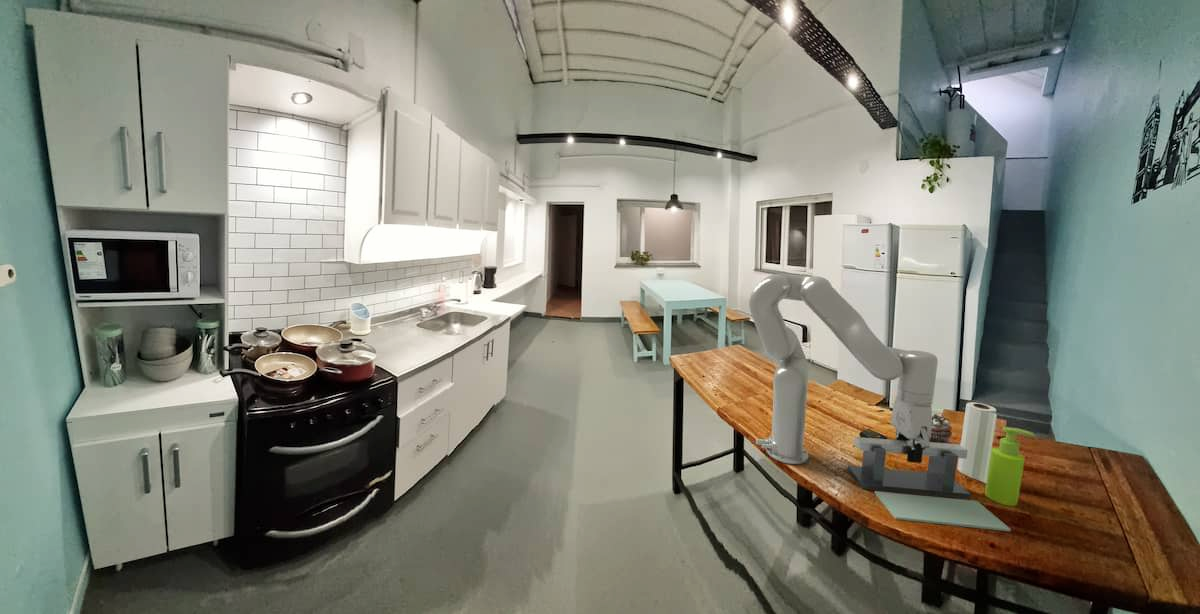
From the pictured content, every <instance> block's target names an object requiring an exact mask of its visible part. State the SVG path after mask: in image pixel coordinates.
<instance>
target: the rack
mask: <svg viewBox="0 0 1200 614" xmlns="http://www.w3.org/2000/svg"><path fill="white" fill-rule="evenodd" d="M862 452H863V453H862V459H861V460H862V461H861V466H859V465H858V466H857V465H847V469H846V470H847V471H848V473H849V474H850V476H851V477H852V478H853V480H854V481H855V483H857V485H858V486H859V487H860V488H861V490H862V489H863V490H871V491H872V490H873V491H880V492H890V493H900V494H911V495H921V496H932V497H942V498H953V499H963V500H971V496H972V493H970V492H969V491H968V490H967V489H965V488H964V487H963V486H962V485H961V484H960V483H959V482H957V481H956V479H955V478H956V473H957V472H956V471H957V467H958V460H959V458H958V456H957V455H956V454H955V453H944V456H943V457H939V456H928V457H929V458H928V464H927V471H920V470H919V471H916V470H906V469H905V470H904V469H892V468H891V469H890V468H885V466H886V465H885V464H886V456H887V455H886V454H887V452H886V450H885V449H884V448H875V447H874V450H873V451H862ZM913 493H914V494H913Z"/></svg>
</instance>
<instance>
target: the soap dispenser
mask: <svg viewBox="0 0 1200 614" xmlns="http://www.w3.org/2000/svg"><path fill="white" fill-rule="evenodd" d="M1002 430H1003V431H1004V432H1005V437H1001V438H1000V440H999V446H998V447H992V450H991V457H990V463H989V470H988V476H987V483H985V489H984V490H985V491H984V495H985V496H986V497H987V498H988V499H990V500H991V501H993V502H995V503H998V504H1000V505H1004V506H1008V507H1009V506H1011V507H1014V506H1017V505H1018V502H1019V496H1020V490H1021V483H1022V477H1023V471H1024V465H1025V460H1026V458H1025V456H1024V455H1023V454H1021V453H1019V449H1020V442H1019V441H1017V440H1016V437H1017V434H1019V435H1025V436H1029V437H1031V438H1035V437H1036V435H1035V434H1034V433H1033V432H1031V431H1028V430H1026V429H1021V428H1017V427H1006V426H1003V427H1002Z"/></svg>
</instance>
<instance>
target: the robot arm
mask: <svg viewBox="0 0 1200 614" xmlns="http://www.w3.org/2000/svg"><path fill="white" fill-rule="evenodd" d="M782 300H791V301H800V302H804V304H805V305H806V306H807V307H808V308H809V309H810V310H811V311H812V312H813V313H814V314H815V315H816V316H817V317H818V318H819V319H820V320H821V321H822V322H823V324H824V325H826V326H827V327H828V329H829V330H830V331H831V332H832V333H833V334H834V335H835V337H836V338H837V340H839V342H841V343H842V345H843V346H844V347H845V348H846V349H847V350H848V351H849V352H850V354H852V356H853V357H854V358H855V359H856V360H857V361H858V362H859V363H860V364H861V365H862V366H863V367H864V369H866V371H868V373H869V374H871V376H873V377H874V378H877V380H878V379H879V380H880V381H887V382H888V381H893V380H896V379H898V384H897V392H896V393H897V394H896V396H895V399H894V402H893V406H892V412H891V417H890V424H891V426H892V428H894V429H895V436H896V439H895V440H905V441H910V448H908V454H907V455H906V457H907V458H906V460H907V462H909V463H916V464H922V461H923V455H922V454H923V451H924V450H925V449H926V448H928V447H930V446H931V445H930V442H929V439H930V436H931V429H932V414H933V410H932V405H933V404H934V403H933V402H934V396H935V395H934V394H935V387H936V378H937V370H938V361H939V360H938V357H937V356H936V355H935V354H933V353H930V352H928V351H922V350H905V349H900V348H896V347H891V346H886V345H885V344H884V343H883V342H882V341H881V340H880V339H879V338H878V337H877V335H875V333H874V332H873V331H872V329H870V327H869V325H868V324H867V322H866V321H865V319H864V318H863V317H862V315H861V314H860V313H859V312H858V311H857V310H856V309H855V308H854V307H853V306H852V304H850V303H849V302H848V301H847V300H846V299H845V298H844V297H843V296H842V295H841V294H840V293H839V292H838V291H837V290H836V289H835V288H834V287H833V285H832V283H831V282H830V280H828V279H827V278H825V277H822V276H815V275H800V274H789V273H774V274H772V275H768V276H766V277H765V278H764V279H762V280H761V281H760V282H759V283H758V284H756V286H755V287H754V288H753V290H752V292H751V294H750V296H749V301H748V302H749V303H748V305H749V306H748V307H749V310H750V311H749V312H750V314H751V317H752V320H753V322H754V325H755V328H756V330H757V333H758V336H759V339H760V341H761V343H762V346H763V350H764V351H765V353H766V354H767V356H769V358H771V359H773V360H775V364H776V365H777V366H776V368H775V370H774V374H773V381H772V382H773V383H772V385H773V388H772V389H773V398H772V399H773V400H772V418H771V419H772V420H771V423H772V424H771V435H769V436H768V438H763V439H762V438H756V439H755V445H758V446H760V445H761V448H762V449H765V451H766V453H767V454H768V456H769V457H771V458H772V459H774V460H776V461H778V462H781V463H785V464H788V465H802V464H804V463H806V462H808V460H809V453H808V451H807V450H806V449H805V448H804V443H805V429H806V427H805V425H806V414H807V413H806V412H807V399H808V398H807V397H808V396H807V395H808V384H809V378H810V371H811V370H810V365H809V362H808V359H807V358H806V354H805V352H804V350H803V347H802V345H801V342H800V340H799V337H798V335H797V334H796V332H795V331H794V330H793V328H790V327H788V326H787V325H786V323H785V321H784V317H783V315H782V313H781V311H780V308H779V303H780V302H781V301H782ZM918 436H920V438H917V437H918ZM915 441H919V443H917V444H915Z"/></svg>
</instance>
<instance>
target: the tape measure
mask: <svg viewBox="0 0 1200 614" xmlns="http://www.w3.org/2000/svg"><path fill="white" fill-rule="evenodd" d="M859 437H862V438H876V439H888V437H887V436H885V435H884V434H881V433H879V432H877V431H875V430H872V429H870V428H867V429H862V430H861V431H859Z"/></svg>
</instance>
